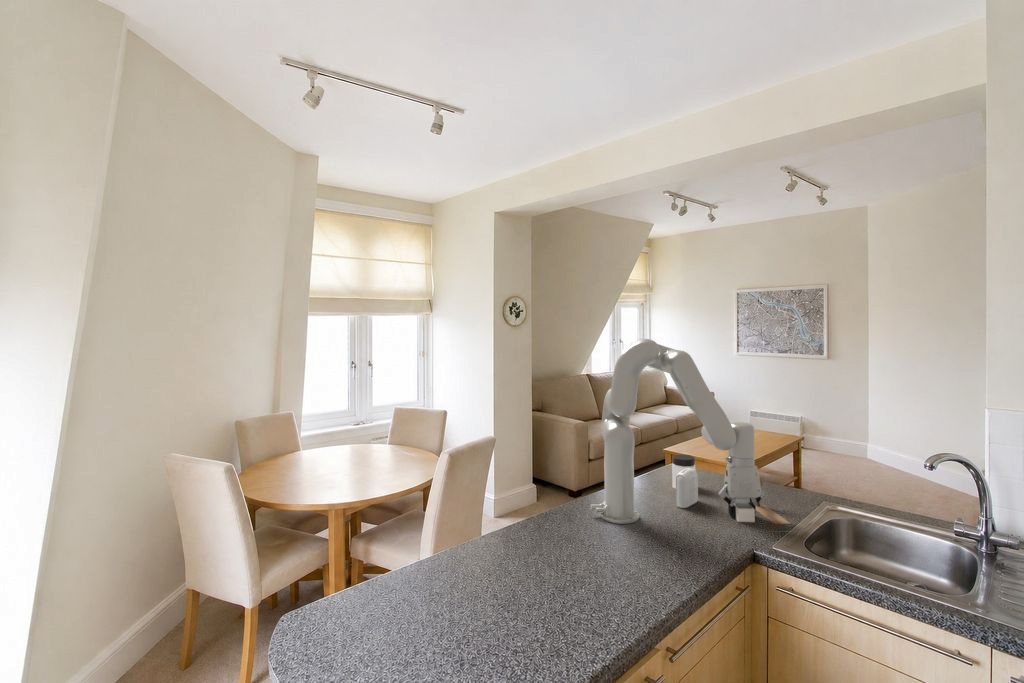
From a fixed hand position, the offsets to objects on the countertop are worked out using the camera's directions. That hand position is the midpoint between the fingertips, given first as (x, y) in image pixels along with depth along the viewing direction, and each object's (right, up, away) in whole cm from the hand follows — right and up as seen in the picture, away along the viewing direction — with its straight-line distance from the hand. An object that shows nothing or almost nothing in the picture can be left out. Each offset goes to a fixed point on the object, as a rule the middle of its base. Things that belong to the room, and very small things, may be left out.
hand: (741, 516), depth 157 cm
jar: (-8, 0, +30) cm, 31 cm away
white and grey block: (0, -1, 0) cm, 1 cm away
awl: (+10, 0, +9) cm, 13 cm away
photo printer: (-13, -1, +13) cm, 18 cm away
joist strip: (+10, 0, +2) cm, 10 cm away
